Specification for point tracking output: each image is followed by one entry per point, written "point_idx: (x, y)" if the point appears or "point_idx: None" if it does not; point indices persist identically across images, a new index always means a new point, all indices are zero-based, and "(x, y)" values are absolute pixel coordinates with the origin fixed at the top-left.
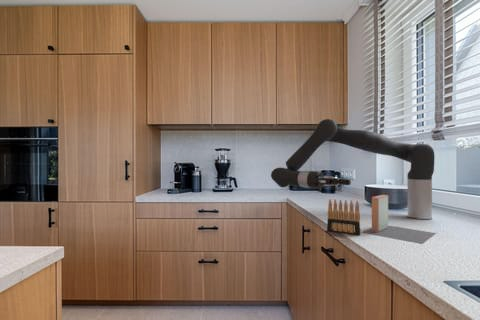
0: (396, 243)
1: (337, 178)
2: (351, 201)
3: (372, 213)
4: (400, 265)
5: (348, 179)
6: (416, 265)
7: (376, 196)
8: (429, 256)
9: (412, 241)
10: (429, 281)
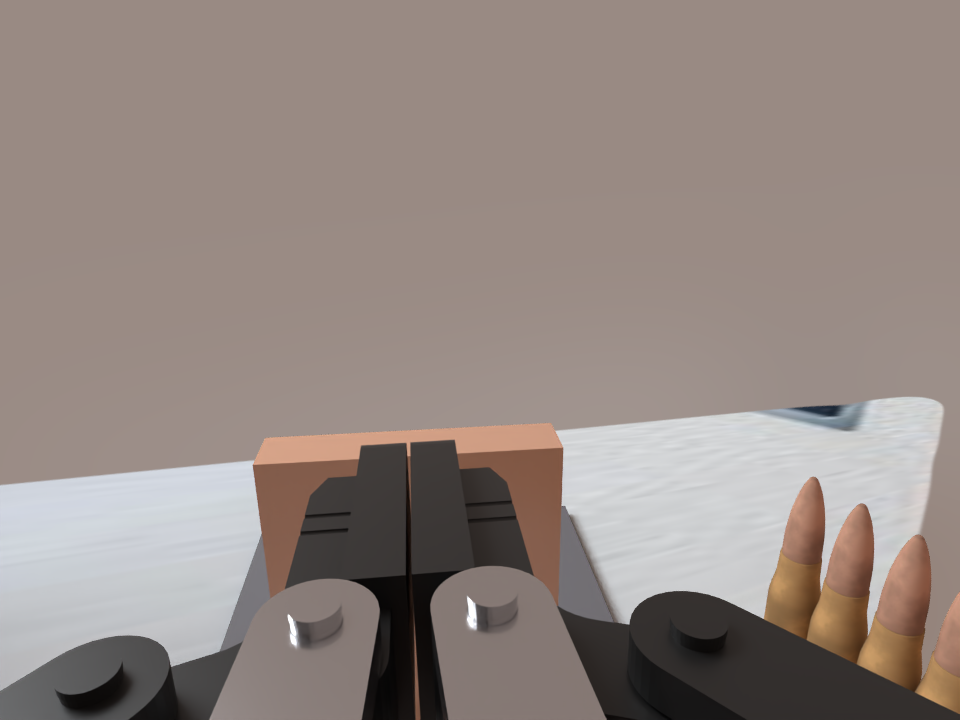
0: (640, 573)
1: (501, 613)
2: (865, 512)
3: (556, 587)
4: (889, 490)
5: (421, 443)
6: (824, 473)
7: (461, 448)
8: (683, 477)
9: (563, 531)
10: (894, 440)
